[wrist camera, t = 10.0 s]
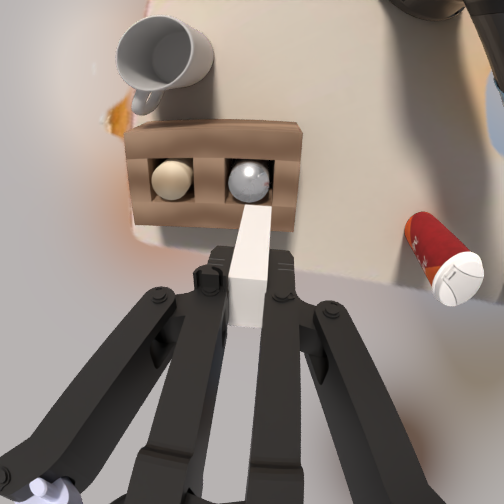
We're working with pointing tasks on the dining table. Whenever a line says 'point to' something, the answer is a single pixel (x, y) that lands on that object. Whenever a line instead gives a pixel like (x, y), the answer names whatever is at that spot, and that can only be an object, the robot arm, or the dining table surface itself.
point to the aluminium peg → (249, 179)
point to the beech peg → (173, 178)
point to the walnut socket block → (213, 170)
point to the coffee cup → (444, 260)
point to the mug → (161, 58)
